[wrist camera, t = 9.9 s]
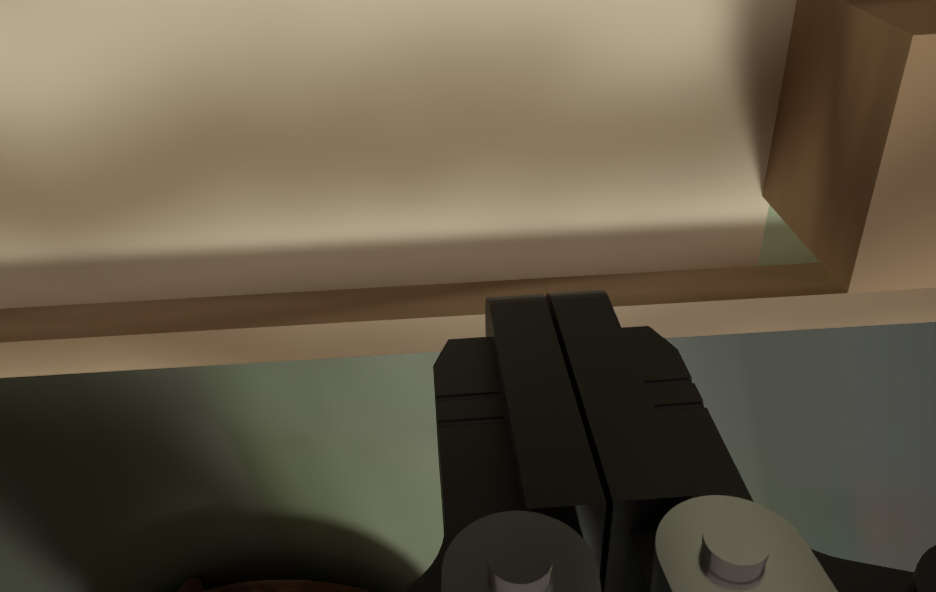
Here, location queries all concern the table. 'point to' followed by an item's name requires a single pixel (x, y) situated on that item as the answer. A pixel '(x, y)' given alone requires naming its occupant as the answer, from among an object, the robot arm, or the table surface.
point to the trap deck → (389, 176)
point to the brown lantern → (271, 586)
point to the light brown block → (860, 141)
